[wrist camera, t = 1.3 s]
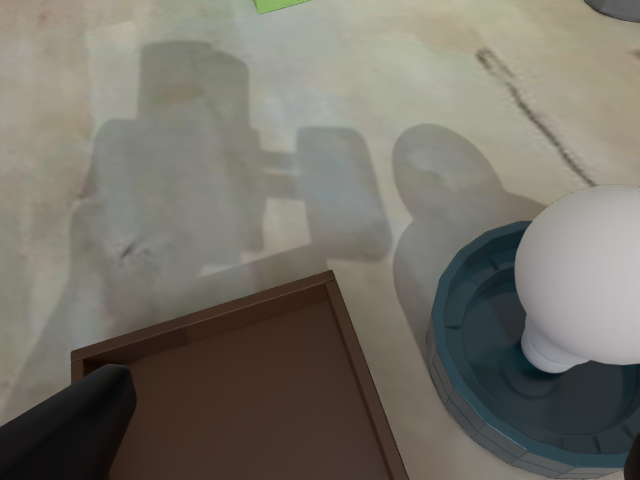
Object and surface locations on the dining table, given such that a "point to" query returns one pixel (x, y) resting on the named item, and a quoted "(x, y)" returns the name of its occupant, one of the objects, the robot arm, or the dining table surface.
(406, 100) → the dining table surface
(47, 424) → the robot arm
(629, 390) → the bowl
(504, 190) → the dining table surface
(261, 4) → the canister
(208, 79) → the dining table surface
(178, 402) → the tray
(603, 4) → the coffeepot
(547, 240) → the lightbulb
